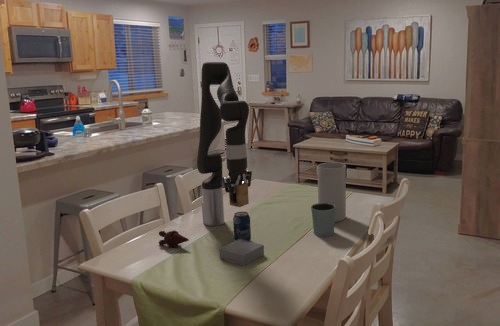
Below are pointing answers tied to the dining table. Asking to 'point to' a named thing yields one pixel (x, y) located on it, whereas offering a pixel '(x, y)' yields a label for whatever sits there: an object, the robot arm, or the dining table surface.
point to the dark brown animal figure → (172, 238)
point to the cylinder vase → (333, 187)
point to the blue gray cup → (323, 219)
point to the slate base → (241, 251)
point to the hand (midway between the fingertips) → (238, 200)
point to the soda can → (242, 226)
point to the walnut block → (241, 195)
